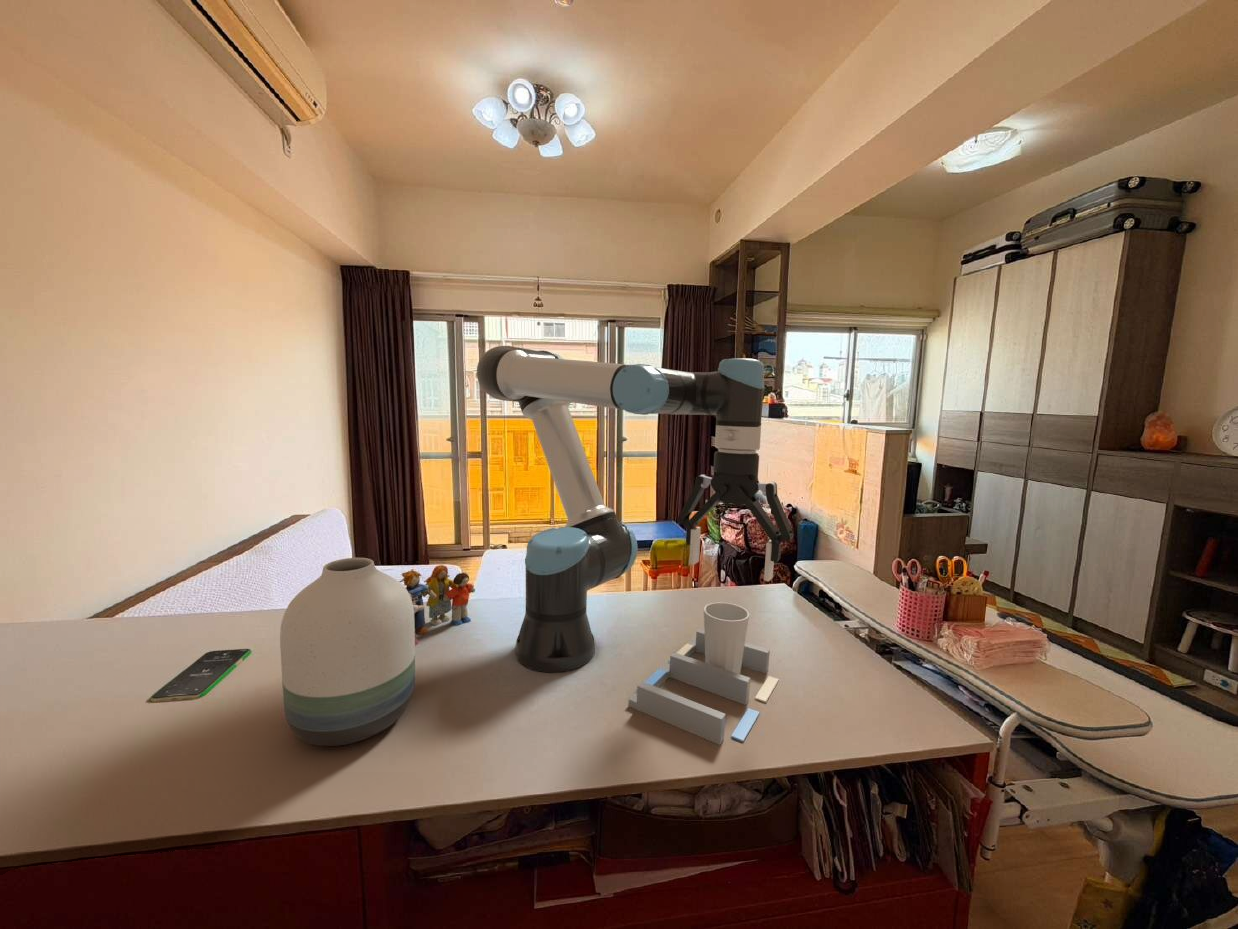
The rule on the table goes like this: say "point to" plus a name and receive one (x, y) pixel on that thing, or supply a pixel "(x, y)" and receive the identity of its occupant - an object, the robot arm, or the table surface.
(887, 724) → the table surface
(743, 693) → the parallel grey wall panels
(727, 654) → the cup
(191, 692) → the smartphone
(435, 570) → the doll family
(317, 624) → the vase
